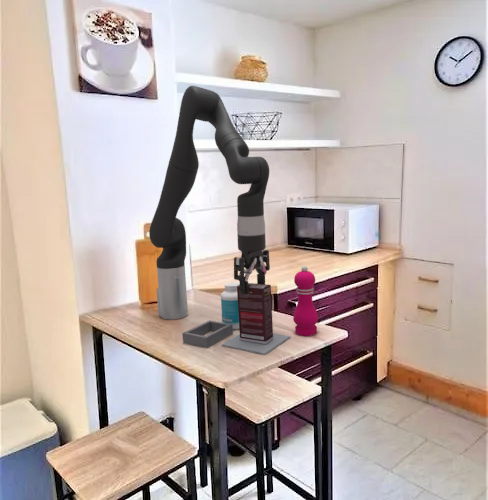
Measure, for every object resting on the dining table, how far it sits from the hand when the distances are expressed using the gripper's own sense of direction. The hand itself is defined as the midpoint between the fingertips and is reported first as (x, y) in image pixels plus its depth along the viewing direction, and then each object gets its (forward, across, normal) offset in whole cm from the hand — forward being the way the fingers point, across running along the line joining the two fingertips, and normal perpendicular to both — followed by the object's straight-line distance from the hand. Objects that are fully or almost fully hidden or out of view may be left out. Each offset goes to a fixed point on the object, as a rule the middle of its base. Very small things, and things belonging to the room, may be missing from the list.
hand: (253, 290), depth 129 cm
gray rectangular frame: (+15, -4, +14) cm, 21 cm away
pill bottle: (+15, +8, +13) cm, 22 cm away
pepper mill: (+15, +13, -9) cm, 22 cm away
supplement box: (+15, +1, 0) cm, 15 cm away
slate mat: (+15, 0, 0) cm, 15 cm away
